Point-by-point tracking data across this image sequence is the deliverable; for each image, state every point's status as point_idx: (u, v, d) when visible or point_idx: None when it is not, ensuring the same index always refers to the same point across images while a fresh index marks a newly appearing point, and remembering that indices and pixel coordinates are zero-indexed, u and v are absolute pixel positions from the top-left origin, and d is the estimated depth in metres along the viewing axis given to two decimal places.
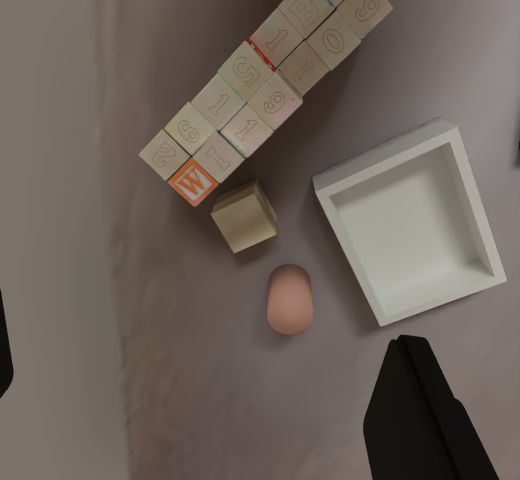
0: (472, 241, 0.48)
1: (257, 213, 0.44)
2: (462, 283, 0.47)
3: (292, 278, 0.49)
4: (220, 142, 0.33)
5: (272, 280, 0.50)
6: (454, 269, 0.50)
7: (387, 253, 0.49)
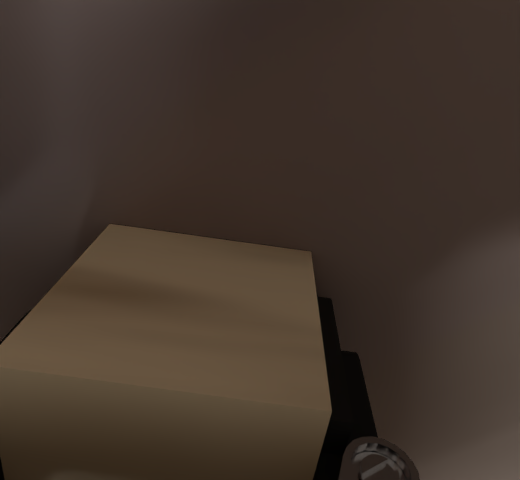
0: None
1: None
2: None
3: None
4: None
5: None
6: None
7: None
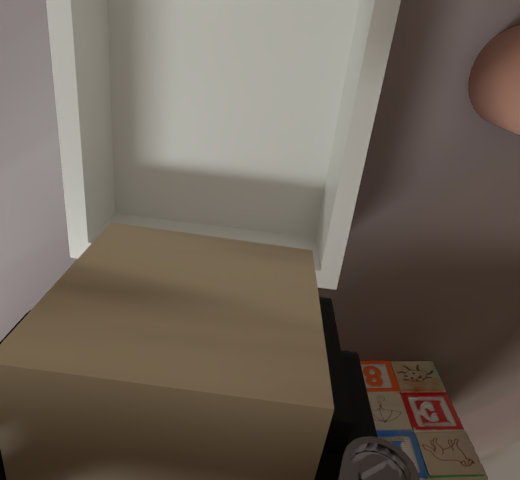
0: None
1: None
2: None
3: (507, 126, 0.20)
4: None
5: None
6: None
7: (291, 29, 0.21)
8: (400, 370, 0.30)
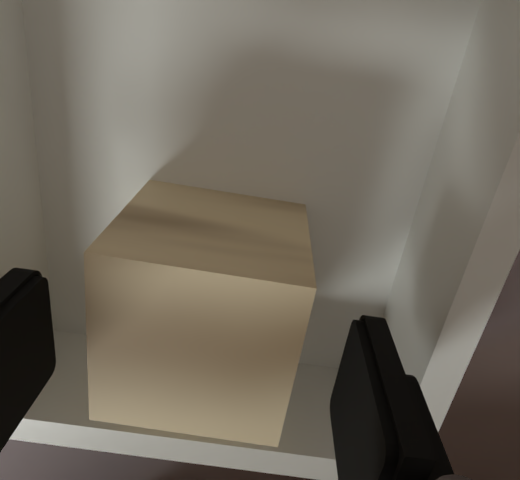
0: None
1: (113, 364, 0.10)
2: None
3: None
4: None
5: None
6: None
7: (351, 56, 0.12)
8: None
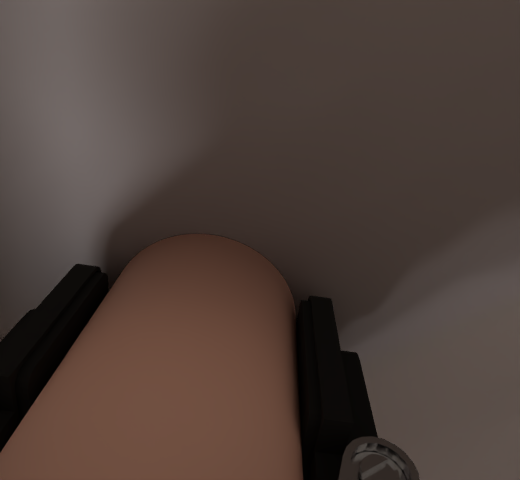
0: None
1: None
2: None
3: None
4: None
5: None
6: None
7: None
8: None
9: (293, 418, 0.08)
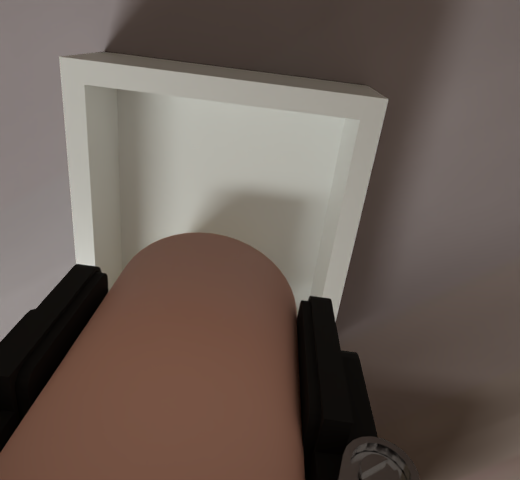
0: (119, 126, 0.23)
1: None
2: None
3: None
4: None
5: None
6: None
7: (276, 191, 0.24)
8: None
9: (295, 416, 0.08)
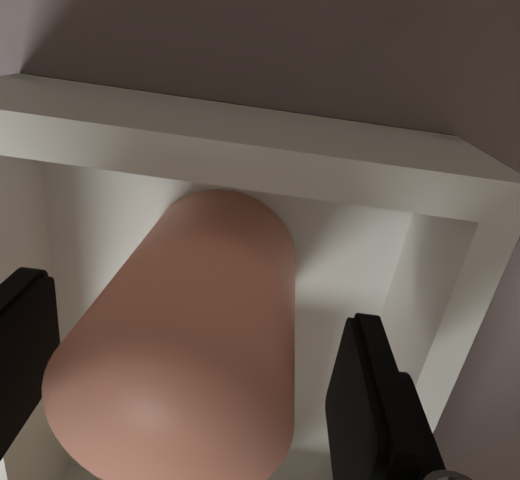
0: (46, 194, 0.14)
1: None
2: None
3: None
4: None
5: None
6: None
7: (301, 296, 0.15)
8: None
9: (288, 305, 0.10)
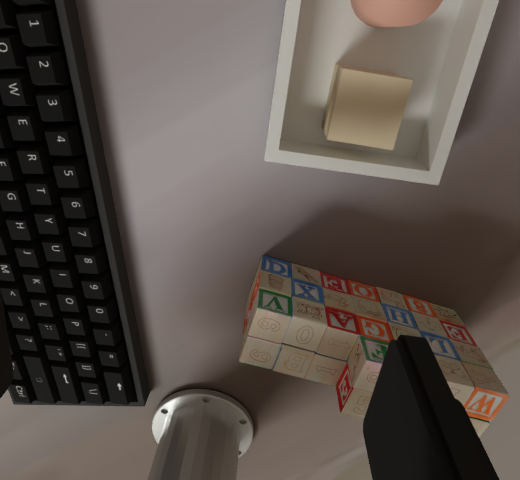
0: None
1: (341, 113, 0.31)
2: None
3: (366, 17, 0.30)
4: None
5: None
6: None
7: None
8: (436, 308, 0.44)
9: None
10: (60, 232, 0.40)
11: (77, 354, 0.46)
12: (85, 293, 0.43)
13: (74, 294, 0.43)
